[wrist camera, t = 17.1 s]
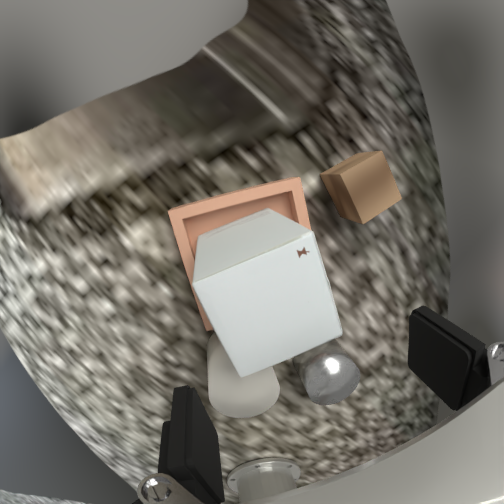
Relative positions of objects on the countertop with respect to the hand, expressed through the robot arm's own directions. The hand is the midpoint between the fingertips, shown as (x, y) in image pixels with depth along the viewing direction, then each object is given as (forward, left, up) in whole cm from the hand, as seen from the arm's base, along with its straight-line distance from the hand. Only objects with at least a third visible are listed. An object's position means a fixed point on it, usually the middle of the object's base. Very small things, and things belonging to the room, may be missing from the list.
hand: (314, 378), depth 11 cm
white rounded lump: (-10, +4, -19) cm, 22 cm away
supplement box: (0, 0, -19) cm, 19 cm away
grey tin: (-15, -5, -20) cm, 25 cm away
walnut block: (+4, -12, -20) cm, 23 cm away
